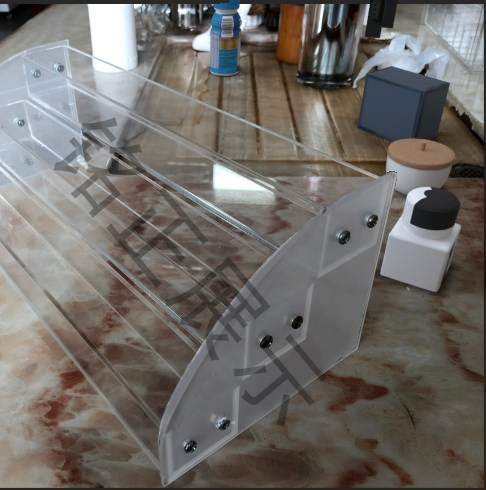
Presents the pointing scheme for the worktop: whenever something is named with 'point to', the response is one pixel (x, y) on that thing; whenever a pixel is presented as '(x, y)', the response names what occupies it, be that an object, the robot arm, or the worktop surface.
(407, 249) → the container
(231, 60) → the beverage bottle
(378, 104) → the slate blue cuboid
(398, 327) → the worktop surface
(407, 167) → the trinket box
